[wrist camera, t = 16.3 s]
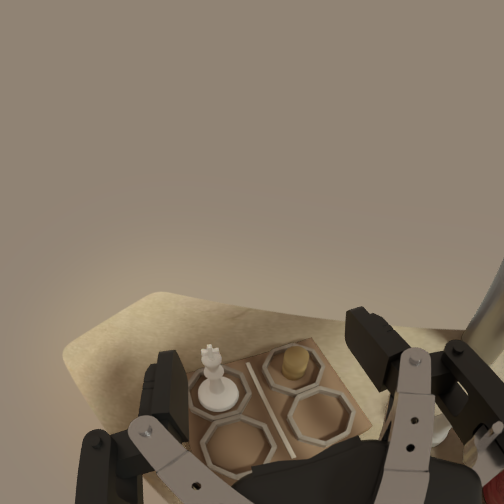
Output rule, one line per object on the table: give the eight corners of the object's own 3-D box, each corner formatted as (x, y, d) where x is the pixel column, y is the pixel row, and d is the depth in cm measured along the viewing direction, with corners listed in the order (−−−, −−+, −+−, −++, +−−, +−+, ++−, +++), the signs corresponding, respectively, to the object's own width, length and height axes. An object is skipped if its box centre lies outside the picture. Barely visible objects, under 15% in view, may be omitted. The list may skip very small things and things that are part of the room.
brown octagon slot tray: (309, 343, 38) (315, 320, 35) (368, 429, 25) (383, 413, 22) (174, 381, 32) (165, 361, 29) (207, 492, 19) (199, 488, 17)
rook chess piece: (410, 438, 23) (443, 411, 19) (425, 414, 25) (456, 383, 21) (433, 454, 20) (470, 429, 16) (447, 429, 22) (481, 400, 18)
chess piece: (241, 409, 27) (239, 365, 22) (199, 413, 27) (183, 369, 21) (236, 376, 32) (232, 324, 26) (197, 379, 31) (183, 328, 25)
